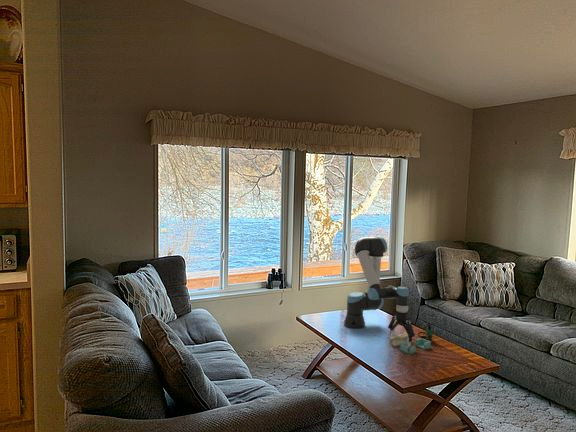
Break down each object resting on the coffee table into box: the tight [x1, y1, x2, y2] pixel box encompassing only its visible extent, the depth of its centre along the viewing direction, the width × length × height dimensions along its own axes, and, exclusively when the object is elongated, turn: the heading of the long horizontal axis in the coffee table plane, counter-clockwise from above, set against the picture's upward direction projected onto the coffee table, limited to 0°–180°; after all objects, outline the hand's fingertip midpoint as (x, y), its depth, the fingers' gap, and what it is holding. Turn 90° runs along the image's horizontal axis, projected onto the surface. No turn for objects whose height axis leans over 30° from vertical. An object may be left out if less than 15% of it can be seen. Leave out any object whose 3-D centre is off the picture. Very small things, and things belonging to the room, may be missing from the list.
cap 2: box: [415, 337, 432, 350], centre depth 277 cm, size 8×6×4 cm
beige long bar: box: [389, 332, 408, 347], centre depth 282 cm, size 4×16×5 cm, turn 127°
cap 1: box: [399, 343, 416, 355], centre depth 268 cm, size 8×6×4 cm
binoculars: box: [417, 323, 434, 343], centre depth 288 cm, size 9×11×10 cm
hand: (400, 343), depth 282 cm, fingers open, 13 cm apart
